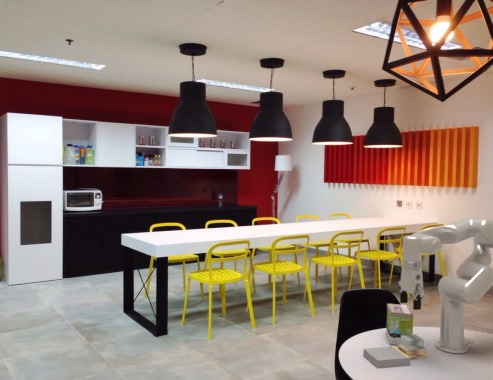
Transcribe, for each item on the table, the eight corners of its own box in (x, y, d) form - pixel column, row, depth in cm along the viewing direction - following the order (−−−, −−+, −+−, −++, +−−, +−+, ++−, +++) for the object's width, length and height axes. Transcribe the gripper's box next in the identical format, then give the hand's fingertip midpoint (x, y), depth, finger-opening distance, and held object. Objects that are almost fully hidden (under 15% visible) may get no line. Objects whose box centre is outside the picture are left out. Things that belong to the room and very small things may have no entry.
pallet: (417, 352, 188) (417, 334, 188) (425, 358, 182) (426, 339, 182) (398, 354, 186) (398, 335, 186) (406, 359, 180) (406, 340, 180)
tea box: (413, 346, 195) (413, 313, 194) (389, 344, 197) (390, 312, 196) (407, 334, 209) (408, 304, 209) (385, 333, 211) (386, 302, 211)
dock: (393, 353, 187) (393, 346, 187) (410, 365, 175) (410, 357, 175) (363, 355, 184) (363, 348, 184) (377, 368, 172) (378, 360, 172)
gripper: (432, 269, 176) (430, 311, 176) (408, 261, 193) (406, 300, 193) (415, 269, 174) (413, 312, 175) (392, 261, 191) (391, 300, 192)
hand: (410, 306), depth 184 cm, fingers open, 9 cm apart
